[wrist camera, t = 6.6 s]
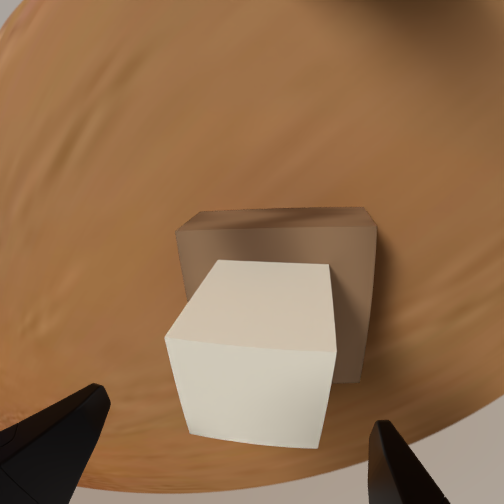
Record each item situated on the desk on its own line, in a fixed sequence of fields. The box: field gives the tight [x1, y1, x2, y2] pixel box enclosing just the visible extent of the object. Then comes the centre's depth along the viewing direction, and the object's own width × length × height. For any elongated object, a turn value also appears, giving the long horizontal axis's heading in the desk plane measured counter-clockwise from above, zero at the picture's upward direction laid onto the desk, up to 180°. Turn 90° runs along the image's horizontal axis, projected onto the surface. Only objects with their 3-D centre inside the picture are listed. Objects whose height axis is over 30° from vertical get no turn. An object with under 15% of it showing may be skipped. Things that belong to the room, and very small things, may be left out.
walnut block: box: [175, 207, 377, 383], centre depth 17 cm, size 9×9×4 cm
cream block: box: [165, 260, 337, 449], centre depth 12 cm, size 5×5×6 cm
